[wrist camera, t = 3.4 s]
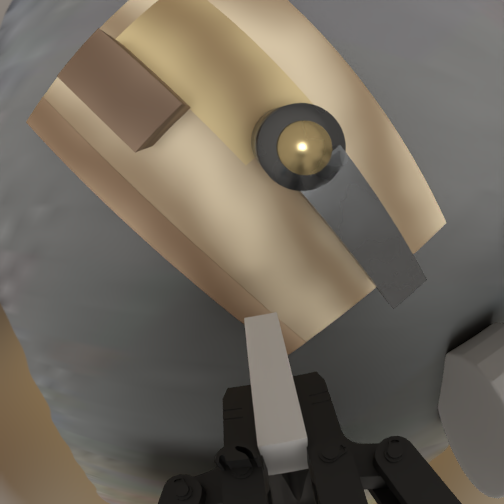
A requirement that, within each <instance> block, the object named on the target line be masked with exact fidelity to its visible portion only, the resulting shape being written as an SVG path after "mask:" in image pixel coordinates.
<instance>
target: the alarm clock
mask: <svg viewBox="0 0 504 504" xmlns="http://www.w3.org/2000/svg"><path fill="white" fill-rule="evenodd" d="M438 411H439V415H440V419H441V422H442V425H443V428H444V431H445V434H446V436H447V439H448V442H449V444H450V446H451V449H452V451H453V453H454V455H455V457H456V459H457V461H458V463H459V464H460V466H461V468H462V470H463V471H464V473H465V474H466V476H467V477H468V478H469V480H470V481H471V482H472V484H473V485H475V487H476V488H477V489H479V491H481V492H482V493H484V494H485V495H487V496H489V497H494V498H501V497H504V323H494V324H492V325H490V326H489V327H487V328H486V329H484V330H483V331H481V332H480V333H478V334H477V335H475V336H474V337H472V338H471V339H469V340H468V341H466V342H465V343H463V344H461V345H460V346H458V347H457V348H455V349H453V350H452V351H450V352H448V353H447V354H446V356H445V364H444V372H443V379H442V385H441V391H440V397H439V402H438Z"/></svg>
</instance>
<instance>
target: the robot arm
mask: <svg viewBox="0 0 504 504" xmlns="http://www.w3.org/2000/svg"><path fill="white" fill-rule="evenodd" d="M244 322H245V332H246V342H247V352H248V362H249V371H250V381H251V385H247V386H240V387H233V388H228V389H227V391H226V393H225V395H224V397H223V420H224V421H223V426H224V447H223V448H222V449H220V451H219V452H218V453H217V455H216V458H215V463H216V465H217V467H216V468H215V469H213V470H211V471H209V472H207V473H204V474H201V475H198V476H195V477H192V476H189V475H177V476H174V477H172V478H171V479H169V480H168V481H167V482H166V484H165V486H164V488H163V491H162V494H161V496H160V499H159V502H158V504H368V503H367V499H366V496H365V493H364V490H363V489H368V490H369V492H370V493H371V495H372V496H373V498H374V499H375V501H376V502H377V504H461V502H460V501H459V500H458V499H457V498H456V496H455V495H454V494H453V493H452V492H451V491H450V489H449V488H448V487H447V486H446V484H445V483H444V482H443V481H442V480H441V478H440V477H439V476H438V475H437V474H436V472H435V471H434V470H433V469H432V467H431V466H430V465H429V464H428V463H427V461H426V460H425V459H424V458H423V457H422V455H421V454H420V453H419V452H418V451H417V449H416V448H415V447H414V446H413V445H412V443H411V442H410V441H408V440H407V439H406V438H403V437H400V436H391V437H389V438H386V439H384V440H383V441H382V442H380V443H379V444H359V443H355V442H352V441H350V440H349V439H347V438H346V437H345V436H344V435H343V433H342V431H341V428H340V425H339V422H338V419H337V416H336V413H335V410H334V407H333V404H332V401H331V398H330V395H329V393H328V389H327V386H326V383H325V380H324V379H323V378H322V377H321V376H320V375H319V374H318V373H317V372H312V373H308V374H303V375H298V376H292V372H291V368H290V364H289V360H288V355H287V351H286V347H285V343H284V339H283V335H282V331H281V327H280V323H279V319H278V315H277V312H274V313H269V314H264V315H258V316H253V317H247V318H244Z"/></svg>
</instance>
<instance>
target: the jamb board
mask: <svg viewBox="0 0 504 504" xmlns="http://www.w3.org/2000/svg"><path fill="white" fill-rule="evenodd" d="M294 103H309V104H313V105H316V106H319V107H321V108H323V109H325V110H326V111H328V112H329V113H330V114H331V115H332V116H333V117H334V118H335V119H336V120H337V122H338V123H339V125H340V127H341V128H342V131H343V133H344V137H345V143H346V153H347V155H348V156H349V157H350V159H351V160H352V161H353V163H354V164H355V165H356V167H357V168H358V169H359V171H360V172H361V174H362V175H363V176H364V178H365V179H366V181H367V182H368V184H369V185H370V187H371V188H372V189H373V191H374V192H375V194H376V195H377V197H378V198H379V200H380V201H381V203H382V204H383V206H384V207H385V209H386V211H387V212H388V214H389V215H390V217H391V218H392V220H393V222H394V223H395V225H396V226H397V228H398V230H399V231H400V233H401V235H402V236H403V238H404V240H405V241H406V243H407V245H408V246H409V248H410V250H411V252H412V253H413V254H414V253H415V252H416V251H418V250H419V249H420V248H421V247H422V246H423V245H424V244H425V243H426V242H427V241H428V240H429V239H430V238H431V237H432V236H433V235H434V234H435V233H436V232H437V231H439V230H440V229H441V228H442V227H443V226H444V225H445V224H446V221H445V219H444V216H443V214H442V212H441V210H440V208H439V206H438V204H437V202H436V200H435V198H434V196H433V194H432V192H431V190H430V188H429V186H428V184H427V182H426V180H425V178H424V177H423V175H422V173H421V171H420V169H419V168H418V166H417V164H416V162H415V160H414V159H413V157H412V155H411V154H410V152H409V150H408V149H407V147H406V145H405V144H404V142H403V140H402V139H401V137H400V136H399V134H398V132H397V131H396V129H395V128H394V126H393V125H392V123H391V122H390V120H389V119H388V117H387V116H386V114H385V113H384V111H383V110H382V108H381V107H380V106H379V104H378V103H377V101H376V100H375V99H374V97H373V96H372V95H371V93H370V92H369V90H368V89H367V88H366V86H365V85H364V84H363V83H362V81H361V80H360V79H359V77H358V76H357V75H356V74H355V72H354V71H353V70H352V69H351V67H350V66H349V65H348V64H347V62H346V61H345V60H344V59H343V58H342V57H341V55H340V54H339V53H338V52H337V51H336V50H335V48H334V47H333V46H332V45H331V44H330V43H329V42H328V41H327V39H326V38H325V37H324V36H323V35H322V34H321V33H320V32H319V31H318V30H317V29H316V28H315V27H314V26H313V25H312V24H311V23H310V21H309V20H308V19H307V18H306V17H305V16H304V15H303V14H301V13H300V12H299V11H298V10H297V9H296V8H295V7H294V6H293V5H292V4H291V3H290V2H289V1H288V0H129V1H128V2H127V3H126V4H124V5H123V6H122V7H121V8H120V9H119V10H118V11H117V12H116V13H115V14H114V15H113V16H112V17H110V18H109V19H108V20H107V21H106V22H105V23H104V24H103V25H102V26H101V27H100V28H98V29H97V30H96V31H95V32H94V33H93V34H92V35H91V37H90V38H89V39H88V40H87V41H86V42H85V43H84V44H83V45H82V46H81V48H80V49H79V50H78V51H77V52H76V53H75V55H74V56H73V57H72V58H71V59H70V61H69V62H68V63H67V64H66V65H65V67H64V68H63V69H62V70H61V72H60V73H59V74H58V76H57V78H56V80H55V81H54V82H53V84H52V85H51V86H50V88H49V89H48V91H47V92H46V93H45V95H44V96H43V97H42V99H41V100H40V102H39V103H38V105H37V106H36V108H35V109H34V111H33V112H32V114H31V115H30V117H29V118H28V120H27V122H26V123H27V124H28V125H29V126H30V127H31V128H32V129H33V130H34V131H35V132H36V133H37V135H38V136H39V137H40V138H41V139H42V140H43V141H44V142H45V143H46V144H47V145H48V146H49V147H50V148H51V150H52V151H53V152H54V153H55V154H56V155H57V156H58V157H59V158H60V159H61V160H62V161H63V162H64V163H65V164H66V165H67V166H68V167H69V168H70V169H71V170H72V171H73V172H74V173H75V174H76V175H77V176H78V177H79V178H80V179H81V180H82V181H83V182H84V183H85V184H86V185H87V186H88V187H89V188H90V189H91V190H92V191H93V192H94V193H95V194H96V195H97V196H98V197H99V198H100V199H101V200H102V201H103V202H104V203H105V204H106V205H107V206H108V207H110V208H111V209H112V210H113V211H114V212H115V213H116V214H117V215H118V216H119V217H120V218H121V219H122V220H123V221H124V222H125V223H127V224H128V225H129V226H130V227H131V228H132V229H133V230H134V231H135V232H136V233H137V234H138V235H140V236H141V237H142V238H143V239H144V240H145V241H146V242H147V243H148V244H150V245H151V246H152V247H153V248H154V249H155V250H156V251H157V252H158V253H160V254H161V255H162V256H163V257H164V258H165V259H166V260H168V261H169V262H170V263H171V264H172V265H173V266H174V267H176V268H177V269H178V270H179V271H180V272H181V273H183V274H184V275H185V276H186V277H187V278H188V279H190V280H191V281H192V282H193V283H194V284H195V285H197V286H198V287H199V288H200V289H201V290H203V291H204V292H205V293H206V294H207V295H209V296H210V297H211V298H212V299H213V300H215V301H216V302H217V303H218V304H219V305H221V306H222V307H223V308H224V309H226V310H227V311H228V312H229V313H230V314H232V315H233V316H234V317H235V318H237V319H238V320H239V321H240V322H242V323H243V324H244V325H245V322H244V318H247V317H253V316H258V315H264V314H269V313H274V312H277V315H278V319H279V323H280V327H281V331H282V335H283V339H284V343H285V347H286V351H287V355H289V354H290V353H292V352H293V351H295V350H296V349H297V348H299V347H300V346H302V345H303V344H304V343H306V342H307V341H308V340H309V339H311V338H312V337H313V336H315V335H316V334H317V333H319V332H320V331H322V330H323V329H324V328H326V327H327V326H328V325H329V324H331V323H332V322H333V321H335V320H336V319H337V318H339V317H340V316H341V315H342V314H344V313H345V312H346V311H348V310H349V309H350V308H351V307H353V306H354V305H355V304H356V303H358V302H359V301H360V300H361V299H362V298H364V297H365V296H366V295H367V294H369V293H370V292H371V291H372V290H373V289H375V288H376V287H375V285H374V284H373V283H372V282H371V280H370V279H369V278H368V276H367V275H366V274H365V273H364V271H363V270H362V269H361V267H360V266H359V265H358V263H357V262H356V261H355V260H354V258H353V257H352V256H351V255H350V253H349V252H348V251H347V249H346V248H345V247H344V246H343V244H342V243H341V242H340V241H339V239H338V238H337V237H336V236H335V235H334V233H333V232H332V231H331V230H330V228H329V227H328V226H327V225H326V224H325V222H324V221H323V220H322V219H321V218H320V216H319V215H318V214H317V213H316V212H315V210H314V209H313V208H312V207H311V206H310V204H309V203H308V202H307V201H306V200H305V199H304V197H303V196H302V195H301V194H300V193H299V192H298V191H295V190H291V189H287V188H285V187H283V186H281V185H279V184H277V183H276V182H275V181H273V180H272V179H271V178H270V177H269V175H268V174H267V173H266V172H265V170H264V169H263V168H262V167H261V166H260V164H259V163H258V162H257V160H256V159H255V157H254V154H253V151H252V147H251V136H252V132H253V129H254V126H255V124H256V123H257V121H258V120H259V119H260V118H261V117H262V116H263V115H264V114H265V113H267V112H268V111H270V110H272V109H275V108H278V107H282V106H286V105H290V104H294Z"/></svg>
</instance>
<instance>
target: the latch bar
mask: <svg viewBox="0 0 504 504" xmlns="http://www.w3.org/2000/svg"><path fill="white" fill-rule="evenodd" d="M251 147H252V151H253V154H254V157H255V159H256V160H257V162H258V163H259V164H260V166H261V167H262V168H263V169H264V170H265V172H266V173H267V174H268V175H269V177H270V178H271V179H272V180H273V181H275V182H276V183H277V184H279V185H281V186H283V187H285V188H287V189H291V190H295V191H298V192H299V193H300V194H301V195H302V196H303V197H304V199H305V200H306V201H307V202H308V203H309V204H310V206H311V207H312V208H313V209H314V210H315V212H316V213H317V214H318V215H319V216H320V218H321V219H322V220H323V221H324V222H325V224H326V225H327V226H328V227H329V228H330V230H331V231H332V232H333V233H334V235H335V236H336V237H337V238H338V239H339V241H340V242H341V243H342V244H343V246H344V247H345V248H346V249H347V251H348V252H349V253H350V255H351V256H352V257H353V258H354V260H355V261H356V262H357V263H358V265H359V266H360V267H361V269H362V270H363V271H364V273H365V274H366V275H367V276H368V278H369V279H370V280H371V282H372V283H373V284H374V285H375V287H376V288H377V289H378V290H379V292H380V293H381V294H382V295H383V297H384V298H385V299H386V300H387V302H388V303H389V304H390V306H391V307H392V308H393V309H394V308H396V307H397V306H398V305H399V304H400V303H401V302H403V301H404V300H405V299H406V298H407V297H408V296H410V295H411V294H412V293H413V292H414V291H415V290H416V289H417V288H419V287H420V286H421V285H422V284H423V283H424V282H425V281H426V280H427V279H426V277H425V275H424V273H423V271H422V269H421V268H420V266H419V264H418V262H417V260H416V259H415V257H414V255H413V253H412V252H411V250H410V248H409V246H408V245H407V243H406V241H405V240H404V238H403V236H402V235H401V233H400V231H399V230H398V228H397V226H396V225H395V223H394V222H393V220H392V218H391V217H390V215H389V214H388V212H387V211H386V209H385V207H384V206H383V204H382V203H381V201H380V200H379V198H378V197H377V195H376V194H375V192H374V191H373V189H372V188H371V187H370V185H369V184H368V182H367V181H366V179H365V178H364V176H363V175H362V174H361V172H360V171H359V169H358V168H357V167H356V165H355V164H354V163H353V161H352V160H351V159H350V157H349V156H348V155H347V153H346V143H345V137H344V133H343V131H342V128H341V127H340V125H339V123H338V122H337V120H336V119H335V118H334V117H333V116H332V115H331V114H330V113H329V112H328V111H326V110H325V109H323V108H321V107H319V106H316V105H313V104H309V103H294V104H290V105H286V106H282V107H278V108H275V109H272V110H270V111H268V112H267V113H265V114H264V115H263V116H262V117H261V118H260V119H259V120H258V121H257V123H256V124H255V126H254V129H253V132H252V136H251Z"/></svg>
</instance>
